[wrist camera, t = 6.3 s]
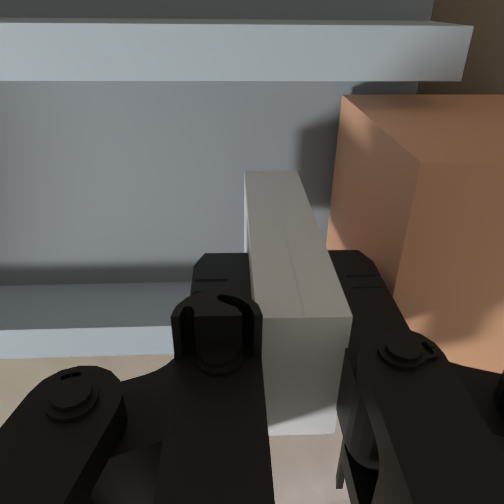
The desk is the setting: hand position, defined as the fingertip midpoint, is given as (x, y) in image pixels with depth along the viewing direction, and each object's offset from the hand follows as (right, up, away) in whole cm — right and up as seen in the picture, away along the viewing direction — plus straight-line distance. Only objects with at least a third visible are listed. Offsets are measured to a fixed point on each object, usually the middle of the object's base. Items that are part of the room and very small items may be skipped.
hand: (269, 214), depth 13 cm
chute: (-4, +1, +2) cm, 5 cm away
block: (+5, +1, +1) cm, 5 cm away
